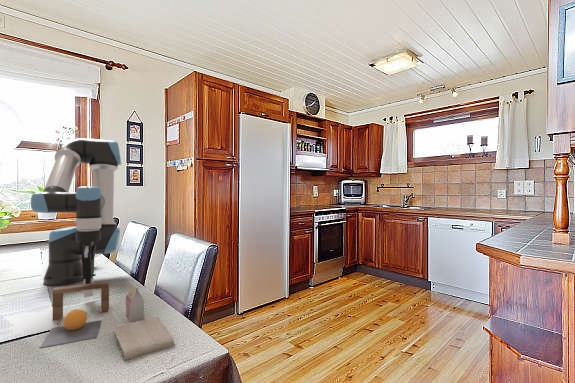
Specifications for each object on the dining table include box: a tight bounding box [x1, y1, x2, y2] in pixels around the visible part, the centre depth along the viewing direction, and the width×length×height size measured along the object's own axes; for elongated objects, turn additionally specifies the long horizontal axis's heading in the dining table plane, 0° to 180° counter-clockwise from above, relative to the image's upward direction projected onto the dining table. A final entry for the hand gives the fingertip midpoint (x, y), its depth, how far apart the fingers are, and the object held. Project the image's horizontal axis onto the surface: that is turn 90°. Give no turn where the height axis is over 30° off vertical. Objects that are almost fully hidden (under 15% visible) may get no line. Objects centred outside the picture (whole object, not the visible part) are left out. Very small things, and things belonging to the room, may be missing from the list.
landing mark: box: [39, 319, 102, 349], centre depth 82 cm, size 12×12×1 cm
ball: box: [62, 308, 88, 330], centre depth 85 cm, size 6×6×6 cm
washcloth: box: [113, 316, 175, 361], centre depth 79 cm, size 12×18×3 cm, turn 38°
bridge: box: [52, 281, 110, 322], centre depth 95 cm, size 3×14×9 cm, turn 116°
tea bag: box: [125, 283, 145, 323], centre depth 93 cm, size 4×7×10 cm, turn 39°
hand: (88, 295), depth 106 cm, fingers closed
